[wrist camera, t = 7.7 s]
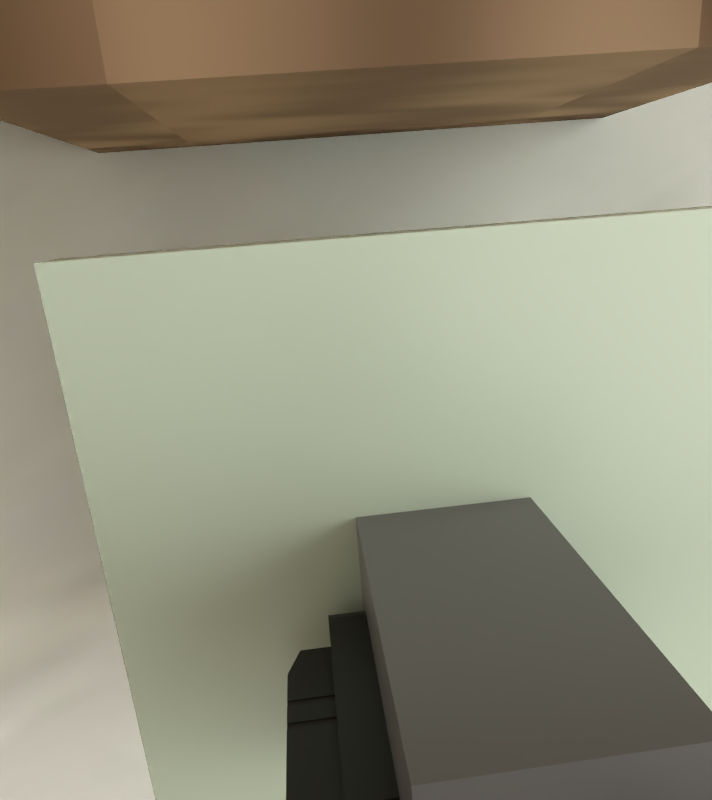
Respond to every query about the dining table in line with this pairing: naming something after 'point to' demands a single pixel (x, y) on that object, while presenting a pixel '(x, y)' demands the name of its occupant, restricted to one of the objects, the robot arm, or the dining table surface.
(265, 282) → the lid
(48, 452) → the dining table surface
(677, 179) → the dining table surface
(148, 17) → the box
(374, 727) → the robot arm
